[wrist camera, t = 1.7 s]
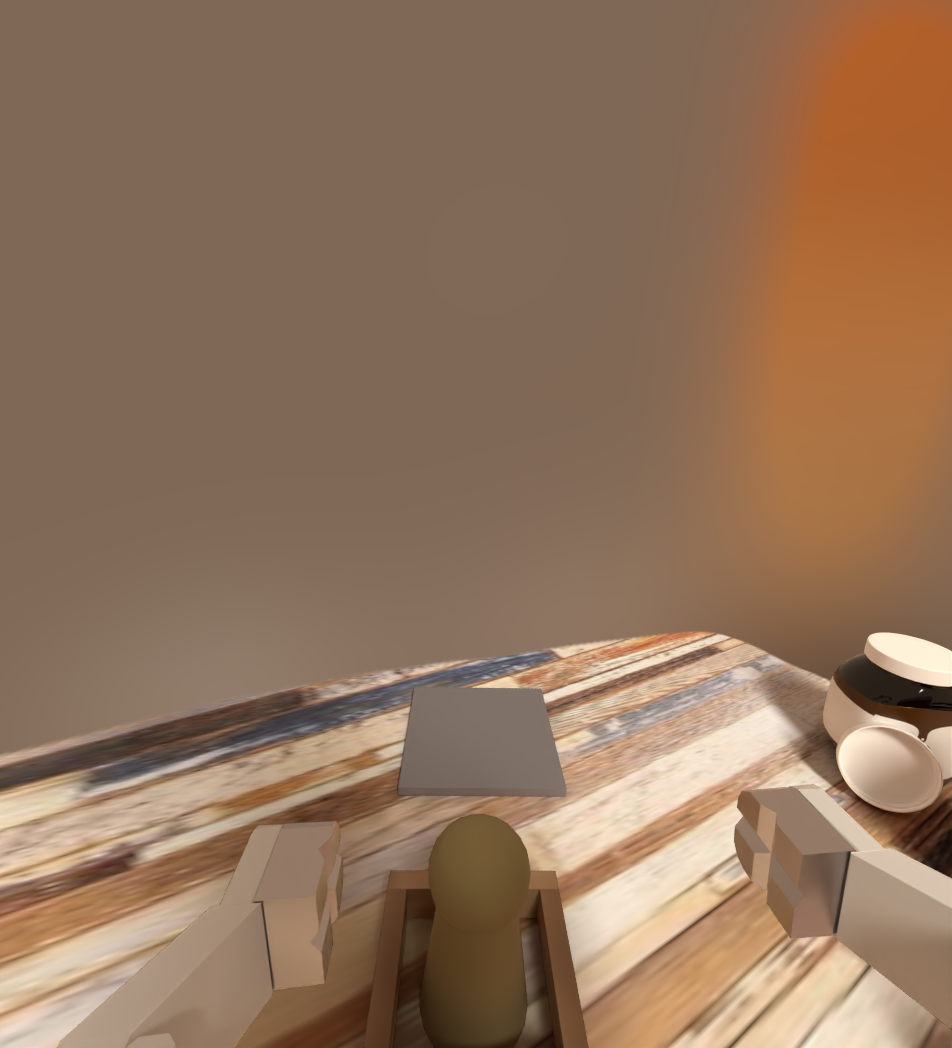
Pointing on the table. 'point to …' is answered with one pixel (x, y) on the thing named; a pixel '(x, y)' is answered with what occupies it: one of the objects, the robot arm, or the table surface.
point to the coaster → (480, 744)
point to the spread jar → (893, 721)
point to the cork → (476, 936)
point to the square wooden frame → (416, 901)
